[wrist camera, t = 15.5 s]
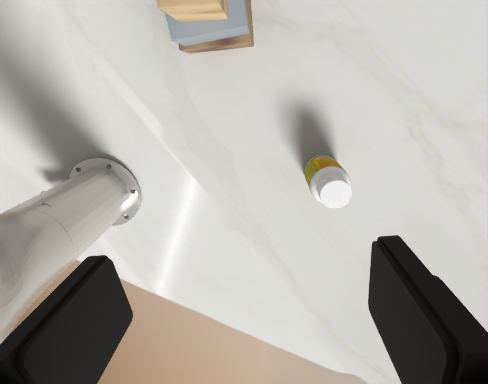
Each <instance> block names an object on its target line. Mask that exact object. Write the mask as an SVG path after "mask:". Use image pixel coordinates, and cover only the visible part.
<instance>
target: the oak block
mask: <svg viewBox="0 0 488 384" xmlns="http://www.w3.org/2000/svg"><path fill="white" fill-rule="evenodd" d="M157 6H158V8H159V9H161V10H162V11H164V12H165V13H167V14H168V15H170V16H171V17H173V18H174V19H176V20H177V21H178V22H192V21H207V20H221V19H228V9H227V0H157Z"/></svg>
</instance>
